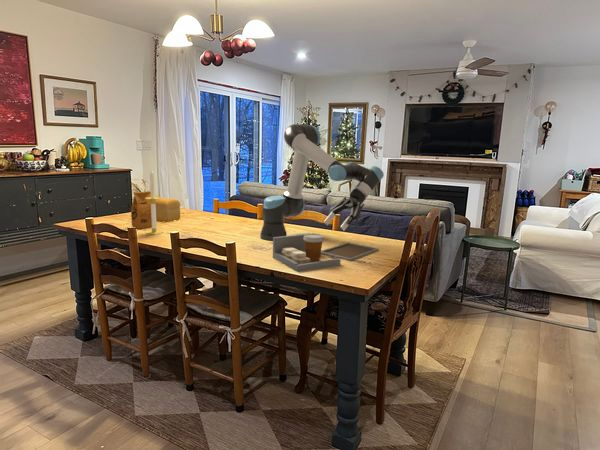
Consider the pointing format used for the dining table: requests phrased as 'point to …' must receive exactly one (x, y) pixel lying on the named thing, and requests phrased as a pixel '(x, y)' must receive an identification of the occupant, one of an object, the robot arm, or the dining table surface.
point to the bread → (167, 209)
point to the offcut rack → (299, 244)
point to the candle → (152, 204)
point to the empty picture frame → (348, 251)
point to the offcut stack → (295, 255)
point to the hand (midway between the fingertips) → (333, 226)
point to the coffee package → (141, 210)
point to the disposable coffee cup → (313, 246)
